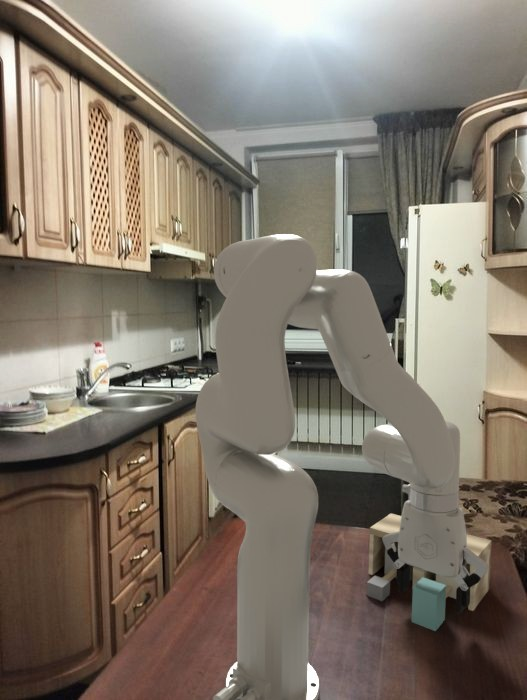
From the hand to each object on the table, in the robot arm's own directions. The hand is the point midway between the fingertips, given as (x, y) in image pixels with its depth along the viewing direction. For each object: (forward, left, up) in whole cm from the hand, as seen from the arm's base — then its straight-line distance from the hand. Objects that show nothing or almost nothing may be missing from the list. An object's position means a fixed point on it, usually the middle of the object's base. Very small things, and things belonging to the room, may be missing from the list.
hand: (431, 598), depth 89 cm
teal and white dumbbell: (+6, 0, -4) cm, 7 cm away
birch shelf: (+11, +5, -4) cm, 13 cm away
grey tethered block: (+7, +10, -4) cm, 13 cm away
